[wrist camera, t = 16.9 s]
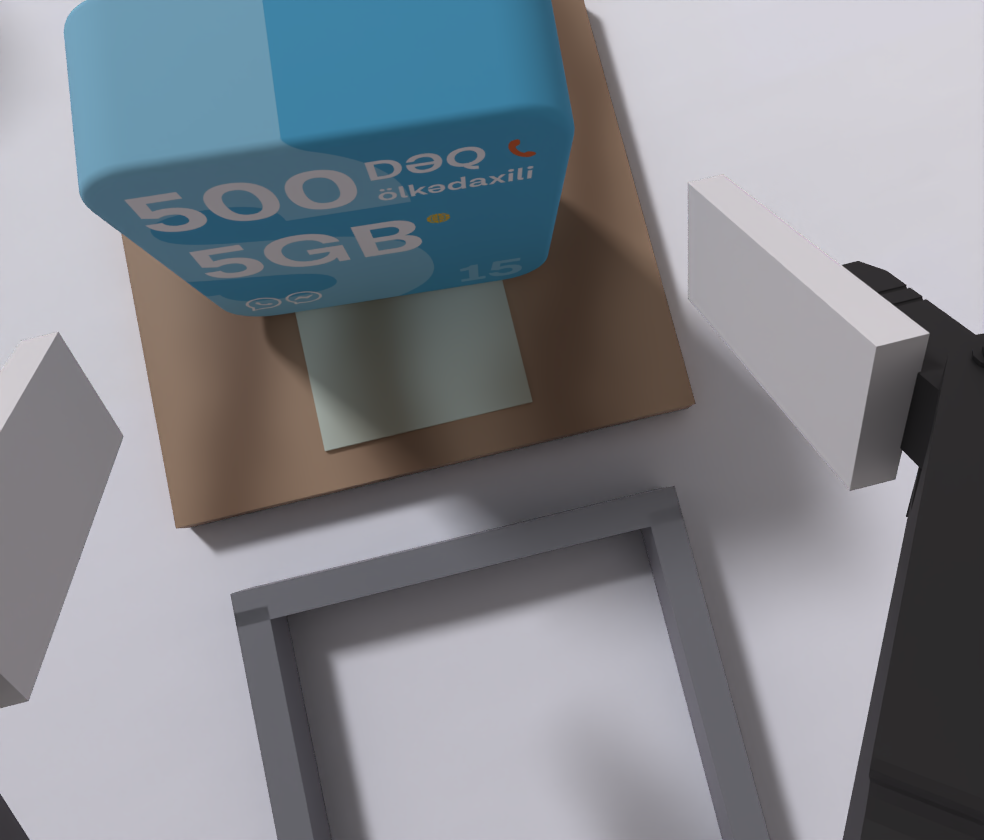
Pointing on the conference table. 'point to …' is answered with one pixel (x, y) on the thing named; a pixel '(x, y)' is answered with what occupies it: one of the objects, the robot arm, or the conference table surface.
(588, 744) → the conference table surface
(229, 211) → the data package
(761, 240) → the robot arm
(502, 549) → the grey u-shaped frame
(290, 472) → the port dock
